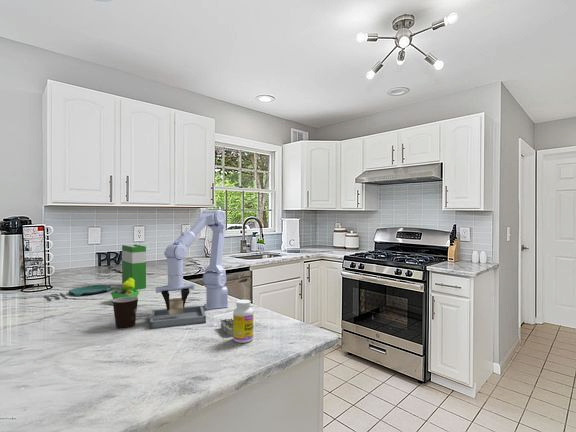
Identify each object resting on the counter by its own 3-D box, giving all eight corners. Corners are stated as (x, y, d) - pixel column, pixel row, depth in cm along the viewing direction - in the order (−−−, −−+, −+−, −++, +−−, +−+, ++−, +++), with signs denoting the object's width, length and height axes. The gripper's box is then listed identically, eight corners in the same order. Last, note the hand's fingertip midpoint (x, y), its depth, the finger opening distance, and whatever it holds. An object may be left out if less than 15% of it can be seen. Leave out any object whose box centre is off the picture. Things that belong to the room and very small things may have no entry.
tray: (202, 311, 141) (202, 305, 141) (205, 322, 126) (205, 316, 126) (152, 316, 135) (152, 310, 135) (149, 328, 120) (149, 322, 120)
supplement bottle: (244, 345, 104) (244, 305, 104) (229, 341, 108) (228, 302, 108) (257, 338, 110) (257, 300, 110) (242, 334, 114) (242, 297, 114)
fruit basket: (109, 303, 156) (109, 279, 156) (125, 298, 164) (125, 276, 164) (127, 305, 151) (127, 281, 151) (142, 300, 160) (142, 277, 160)
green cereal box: (122, 285, 194) (122, 245, 194) (135, 283, 199) (135, 244, 199) (132, 290, 182) (132, 247, 182) (146, 288, 187) (145, 246, 187)
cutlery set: (116, 292, 178) (116, 287, 178) (48, 303, 157) (48, 298, 157) (105, 287, 192) (104, 283, 192) (41, 296, 171) (41, 292, 171)
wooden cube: (180, 310, 134) (180, 297, 134) (183, 313, 129) (183, 300, 129) (167, 311, 131) (167, 299, 131) (169, 315, 127) (169, 302, 127)
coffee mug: (127, 330, 118) (127, 302, 118) (107, 329, 120) (107, 301, 120) (147, 320, 129) (147, 295, 129) (128, 319, 131) (128, 294, 131)
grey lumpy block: (248, 334, 115) (248, 322, 115) (227, 338, 111) (227, 326, 111) (238, 325, 124) (238, 314, 124) (218, 328, 121) (218, 317, 121)
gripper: (191, 271, 137) (191, 304, 137) (154, 274, 130) (154, 308, 130) (195, 274, 131) (195, 308, 131) (157, 277, 124) (157, 313, 124)
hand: (175, 308), depth 130 cm, fingers closed on wooden cube, 5 cm apart
